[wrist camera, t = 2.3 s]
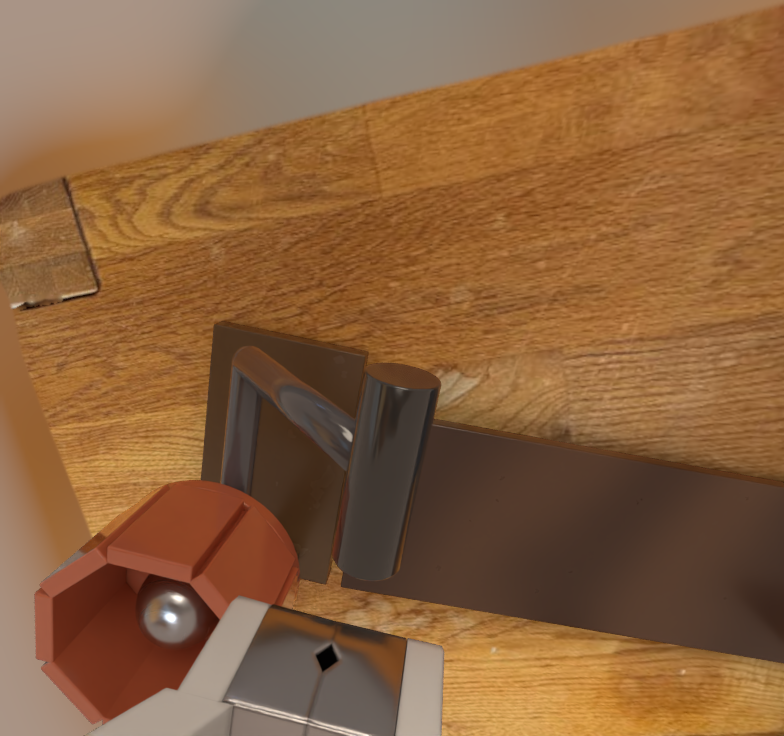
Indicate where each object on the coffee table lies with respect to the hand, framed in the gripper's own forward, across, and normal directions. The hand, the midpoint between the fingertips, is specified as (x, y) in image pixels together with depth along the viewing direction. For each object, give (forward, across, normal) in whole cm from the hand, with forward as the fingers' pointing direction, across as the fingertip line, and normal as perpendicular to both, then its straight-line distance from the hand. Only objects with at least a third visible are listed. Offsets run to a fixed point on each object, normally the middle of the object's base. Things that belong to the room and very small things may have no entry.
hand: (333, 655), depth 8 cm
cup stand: (+20, +6, +8) cm, 22 cm away
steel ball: (+8, +6, +8) cm, 13 cm away
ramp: (+20, -11, +8) cm, 24 cm away
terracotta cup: (+12, +5, +5) cm, 14 cm away
